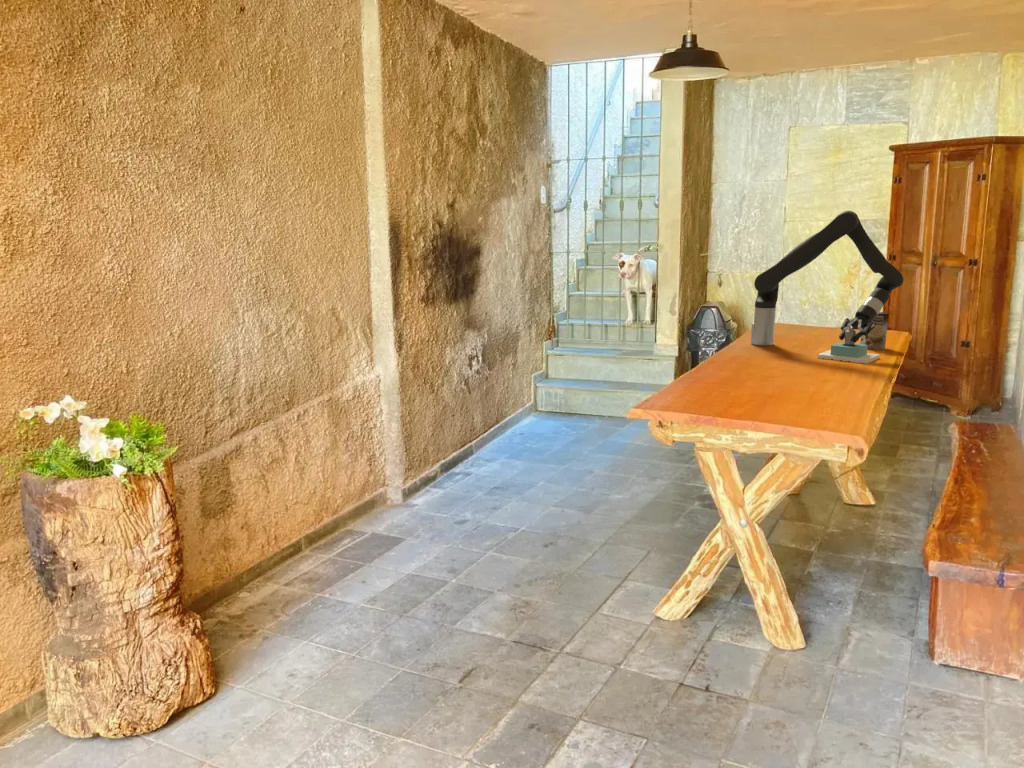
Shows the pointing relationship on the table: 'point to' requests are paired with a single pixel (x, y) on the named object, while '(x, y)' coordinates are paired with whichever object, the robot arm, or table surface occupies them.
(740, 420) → the table surface
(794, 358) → the table surface
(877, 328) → the coffee box
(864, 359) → the socket board
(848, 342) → the dark grey tall block
